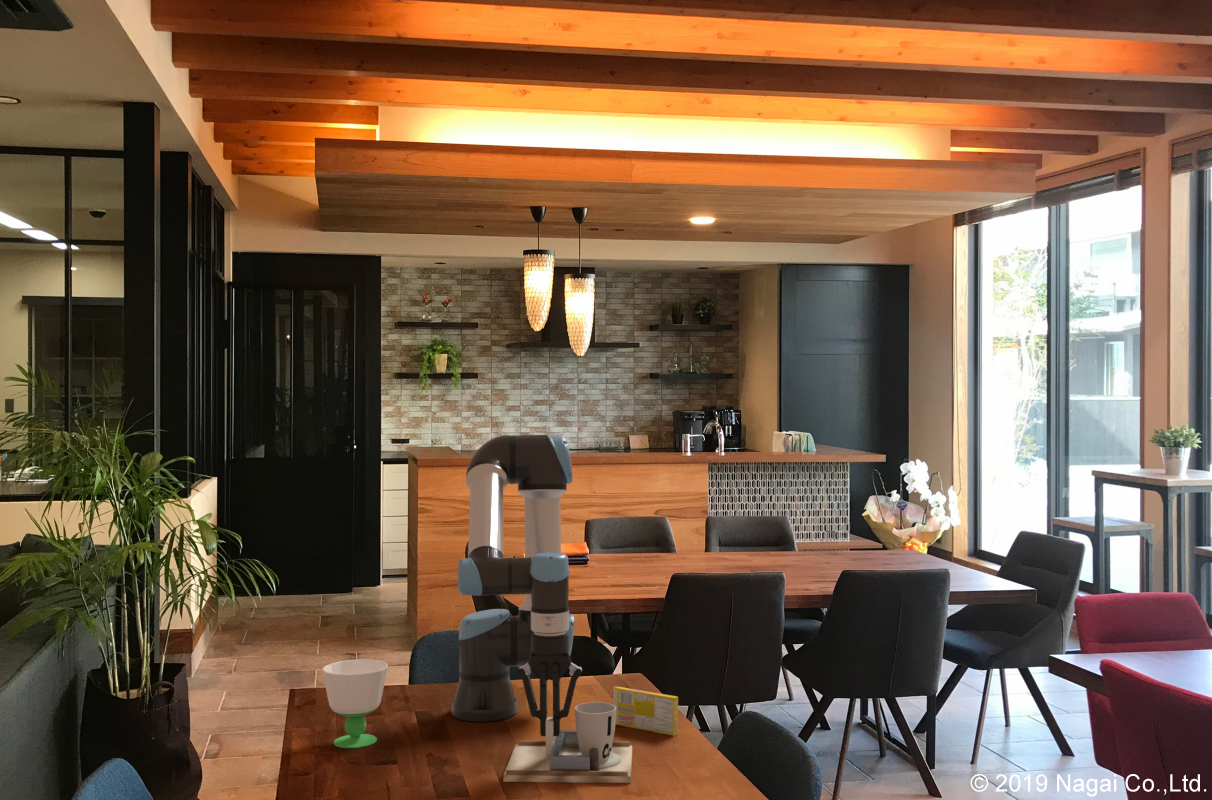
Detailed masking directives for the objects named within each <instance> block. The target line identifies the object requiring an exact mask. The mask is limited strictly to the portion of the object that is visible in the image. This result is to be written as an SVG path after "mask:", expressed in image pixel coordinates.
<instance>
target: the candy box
mask: <svg viewBox="0 0 1212 800" xmlns="http://www.w3.org/2000/svg"><path fill="white" fill-rule="evenodd" d="M612 704H613V705H615V706H616V718H615V726H621V727H626V728H632V729H636V730H641V731H646V732H651V733H655V734H660V735H665V736H666V735H667V736H670V737H671V736H672V737H675V736H677V735H678V734H679V733H678V732H679V725H678V724H679V718H678V717H679V696H676V695H672V694H671V695H670V694H664V693H658V692H652V691H646V690H640V689H635V688H627V687H623V686H614V687H613V688H612Z"/></svg>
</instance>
